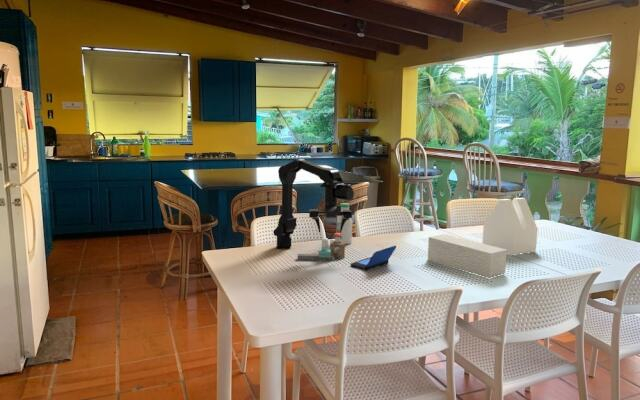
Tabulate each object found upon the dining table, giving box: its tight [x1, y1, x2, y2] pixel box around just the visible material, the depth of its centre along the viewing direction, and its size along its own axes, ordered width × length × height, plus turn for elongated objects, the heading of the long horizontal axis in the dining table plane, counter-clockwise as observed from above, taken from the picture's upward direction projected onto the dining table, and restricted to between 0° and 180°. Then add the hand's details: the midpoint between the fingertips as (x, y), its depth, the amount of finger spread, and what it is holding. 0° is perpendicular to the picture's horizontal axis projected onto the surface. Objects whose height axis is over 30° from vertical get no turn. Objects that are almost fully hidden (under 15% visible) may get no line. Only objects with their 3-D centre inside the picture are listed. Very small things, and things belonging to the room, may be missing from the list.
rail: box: [297, 253, 335, 261], centre depth 220 cm, size 16×3×2 cm, turn 92°
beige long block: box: [427, 233, 508, 278], centre depth 212 cm, size 32×11×11 cm, turn 36°
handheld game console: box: [350, 245, 397, 272], centre depth 211 cm, size 16×13×9 cm
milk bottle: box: [335, 202, 353, 245], centre depth 249 cm, size 8×8×20 cm
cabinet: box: [329, 239, 346, 259], centre depth 227 cm, size 6×8×6 cm
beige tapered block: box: [482, 197, 539, 256], centre depth 241 cm, size 19×15×25 cm
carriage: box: [318, 237, 331, 257], centre depth 219 cm, size 5×5×8 cm
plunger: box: [333, 232, 341, 243], centre depth 226 cm, size 3×3×5 cm
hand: (330, 232), depth 221 cm, fingers open, 9 cm apart
